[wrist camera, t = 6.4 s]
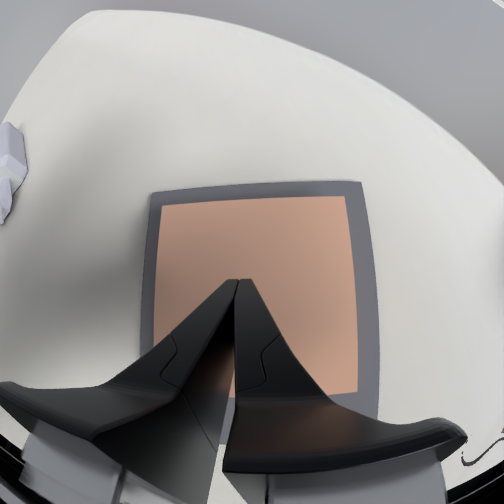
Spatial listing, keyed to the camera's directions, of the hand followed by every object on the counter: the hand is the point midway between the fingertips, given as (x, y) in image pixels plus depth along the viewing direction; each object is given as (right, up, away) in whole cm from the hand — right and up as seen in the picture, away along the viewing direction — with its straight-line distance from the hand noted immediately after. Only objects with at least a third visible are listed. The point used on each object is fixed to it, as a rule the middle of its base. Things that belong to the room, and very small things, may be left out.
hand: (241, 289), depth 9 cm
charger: (-29, +8, +13) cm, 32 cm away
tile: (0, -6, +3) cm, 7 cm away
